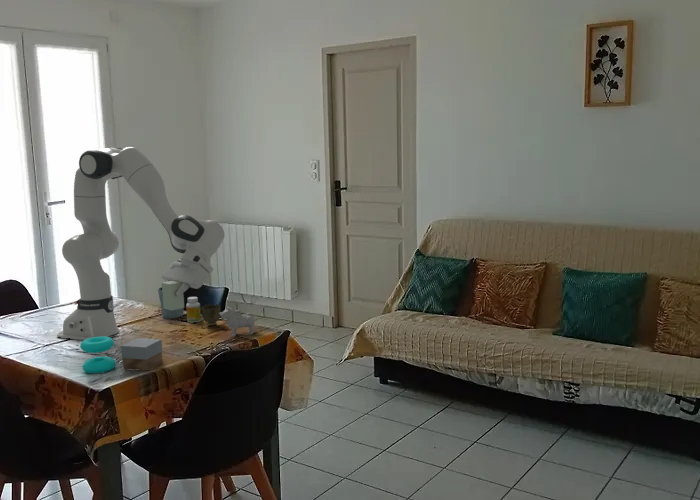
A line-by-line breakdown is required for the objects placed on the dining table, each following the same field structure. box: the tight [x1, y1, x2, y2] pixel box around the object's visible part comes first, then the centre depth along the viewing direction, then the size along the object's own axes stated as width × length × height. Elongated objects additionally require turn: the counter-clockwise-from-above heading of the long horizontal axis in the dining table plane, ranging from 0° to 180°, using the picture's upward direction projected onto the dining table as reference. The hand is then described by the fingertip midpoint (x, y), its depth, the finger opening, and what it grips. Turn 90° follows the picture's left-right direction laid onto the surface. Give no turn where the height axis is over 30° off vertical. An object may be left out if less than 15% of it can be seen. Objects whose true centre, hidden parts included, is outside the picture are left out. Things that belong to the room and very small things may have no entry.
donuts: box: [80, 336, 116, 374], centre depth 223 cm, size 10×10×10 cm
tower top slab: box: [120, 337, 163, 360], centre depth 225 cm, size 9×9×4 cm
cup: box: [200, 303, 221, 327], centre depth 272 cm, size 8×7×8 cm
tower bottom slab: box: [122, 351, 163, 371], centre depth 226 cm, size 9×9×4 cm
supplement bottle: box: [185, 296, 202, 324], centre depth 280 cm, size 5×5×10 cm
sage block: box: [161, 281, 185, 310], centre depth 239 cm, size 5×5×9 cm
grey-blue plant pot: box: [157, 286, 185, 319], centre depth 290 cm, size 10×10×12 cm
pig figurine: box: [219, 306, 256, 337], centre depth 259 cm, size 5×13×11 cm, turn 105°
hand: (171, 294), depth 238 cm, fingers closed on sage block, 5 cm apart
